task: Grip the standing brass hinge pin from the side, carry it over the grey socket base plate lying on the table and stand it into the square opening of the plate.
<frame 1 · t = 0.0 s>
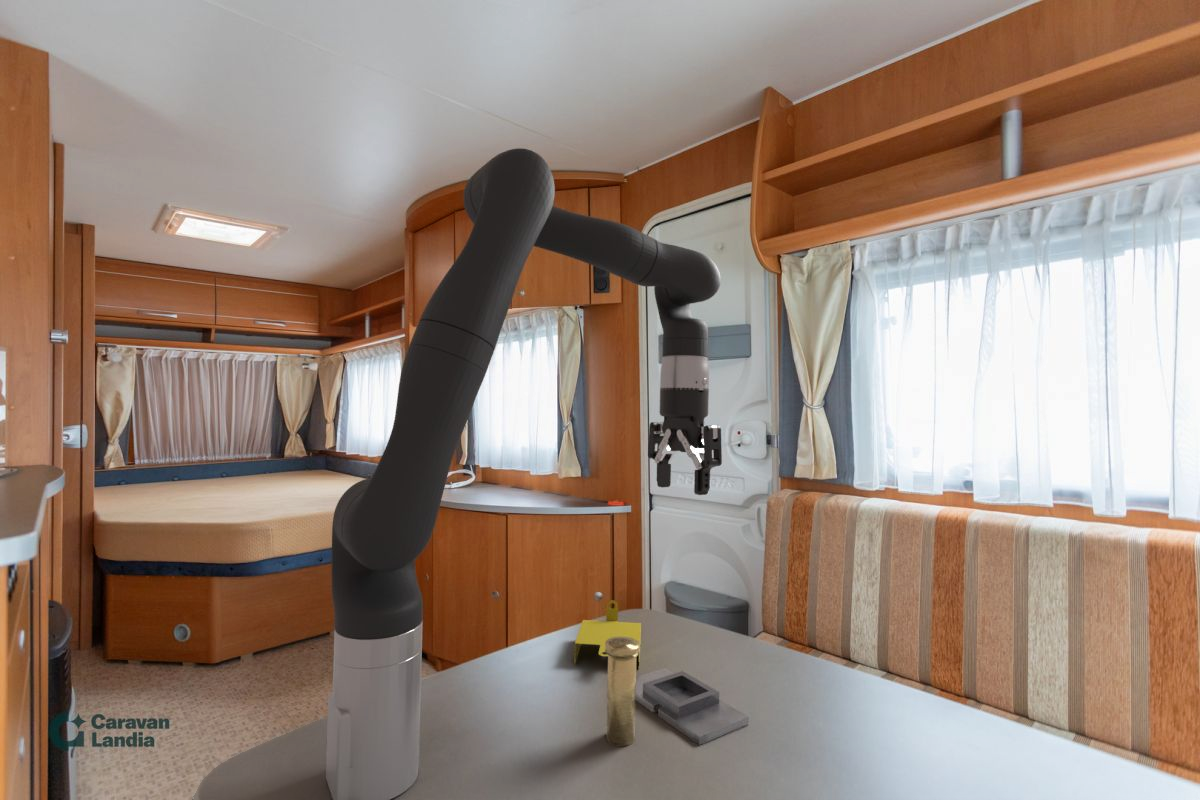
hand: (681, 490, 91), 29 cm above the table, tool pointing down, fingers open, 8 cm apart
bracket: (608, 662, 97), on the table
hinge pin: (620, 738, 74), on the table
grey socket base plate: (680, 705, 82), on the table
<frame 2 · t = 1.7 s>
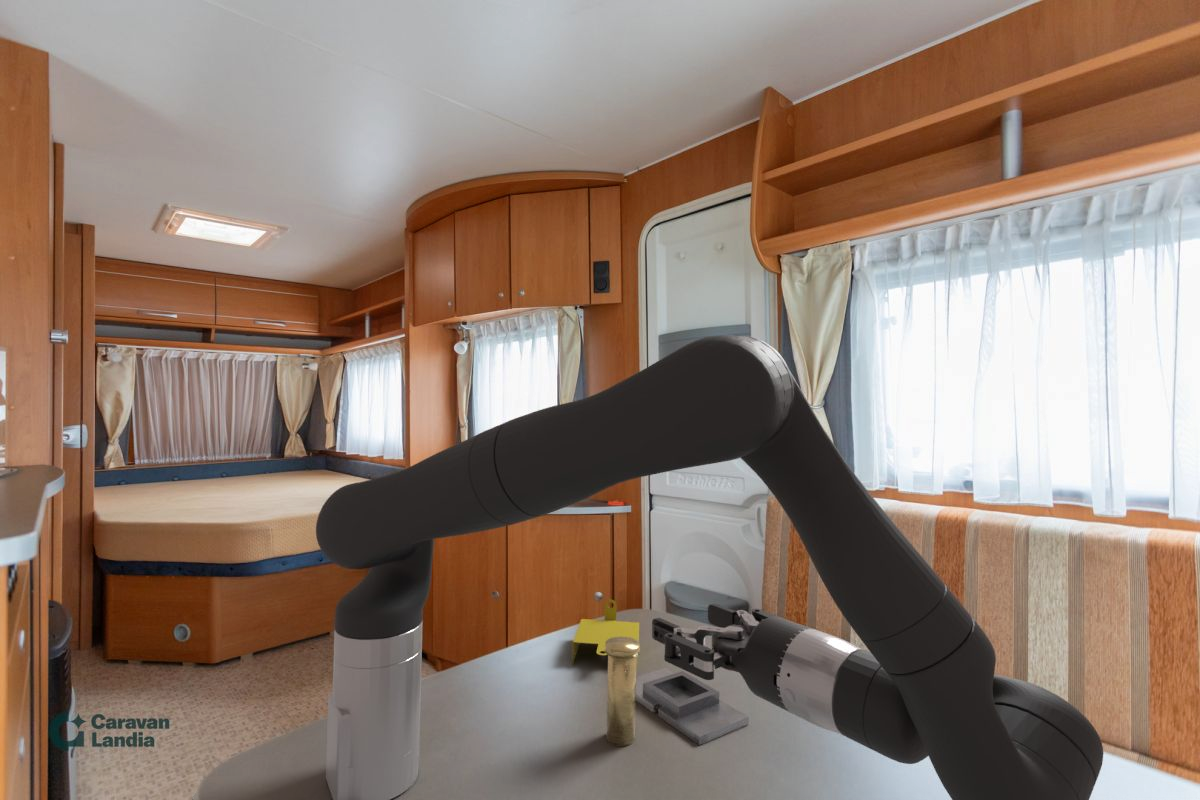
hand: (683, 619, 66), 18 cm above the table, tool horizontal, fingers open, 8 cm apart
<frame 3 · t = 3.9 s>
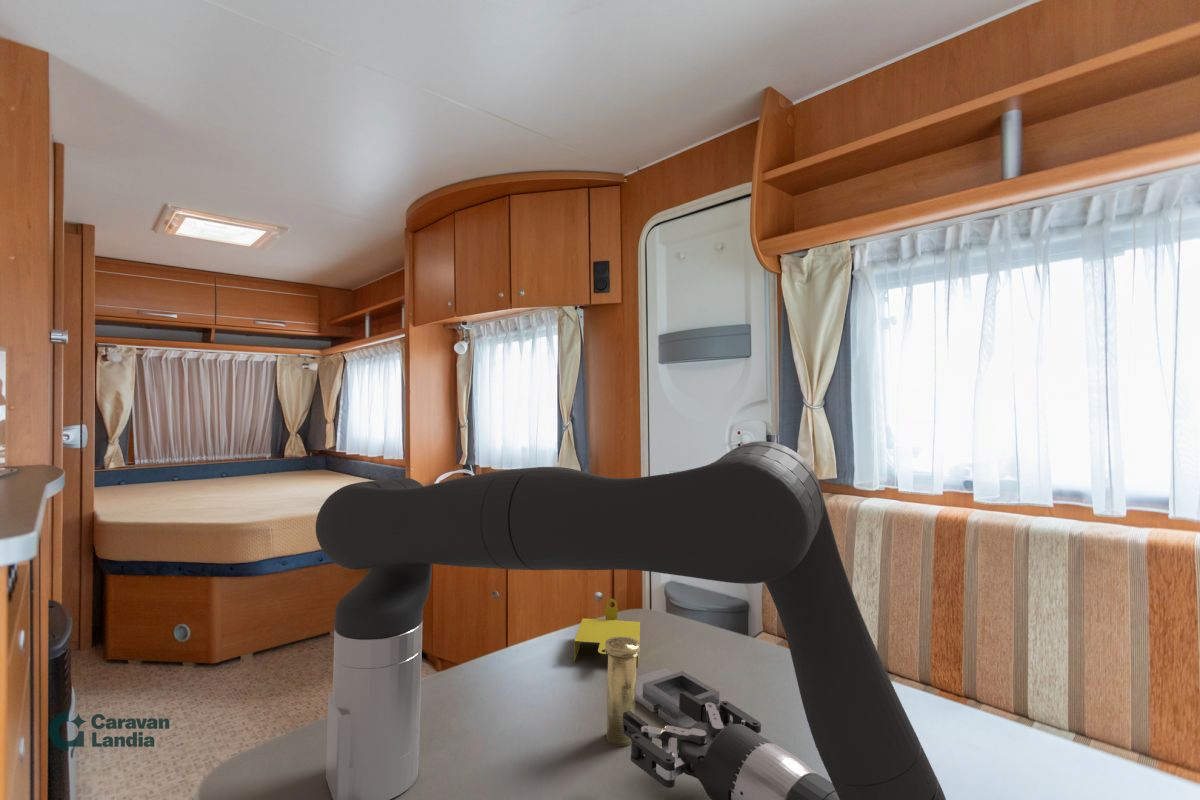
hand: (654, 709, 69), 7 cm above the table, tool horizontal, fingers open, 8 cm apart
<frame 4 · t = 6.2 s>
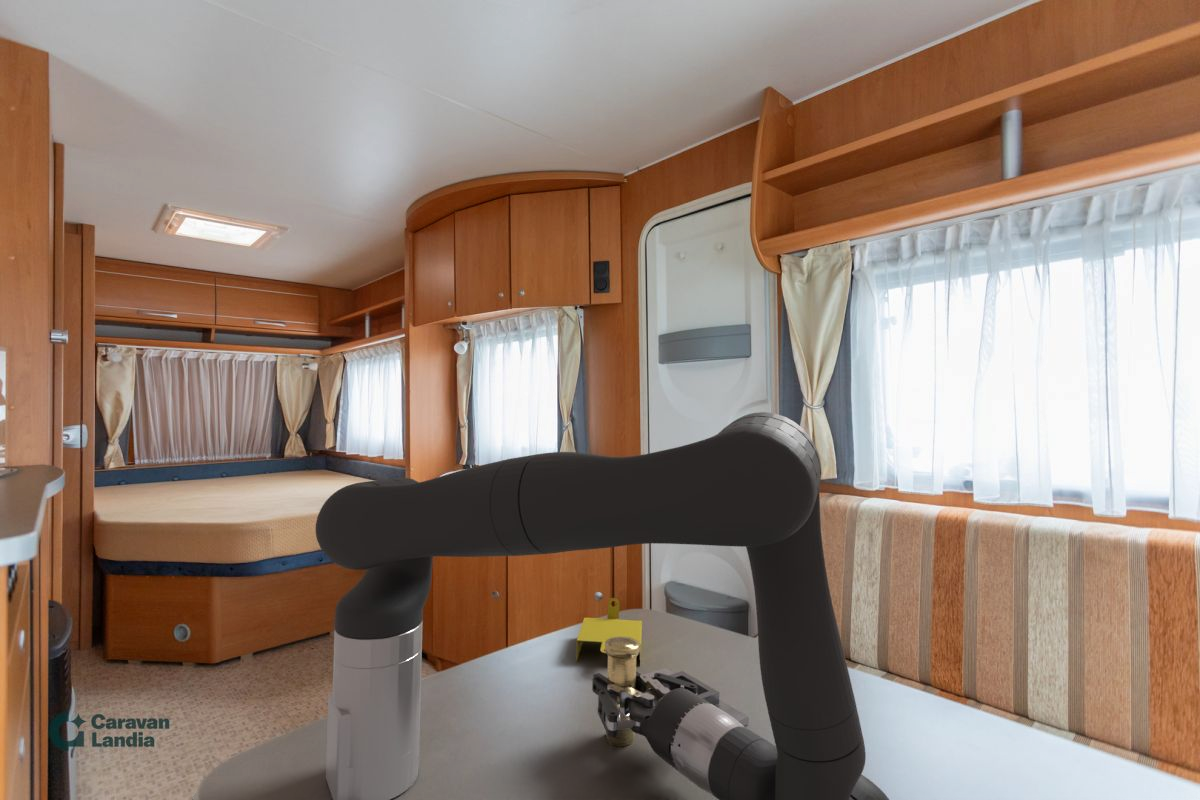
hand: (608, 677, 76), 7 cm above the table, tool horizontal, fingers closed on hinge pin, 3 cm apart
hinge pin: (620, 738, 74), on the table, touching gripper
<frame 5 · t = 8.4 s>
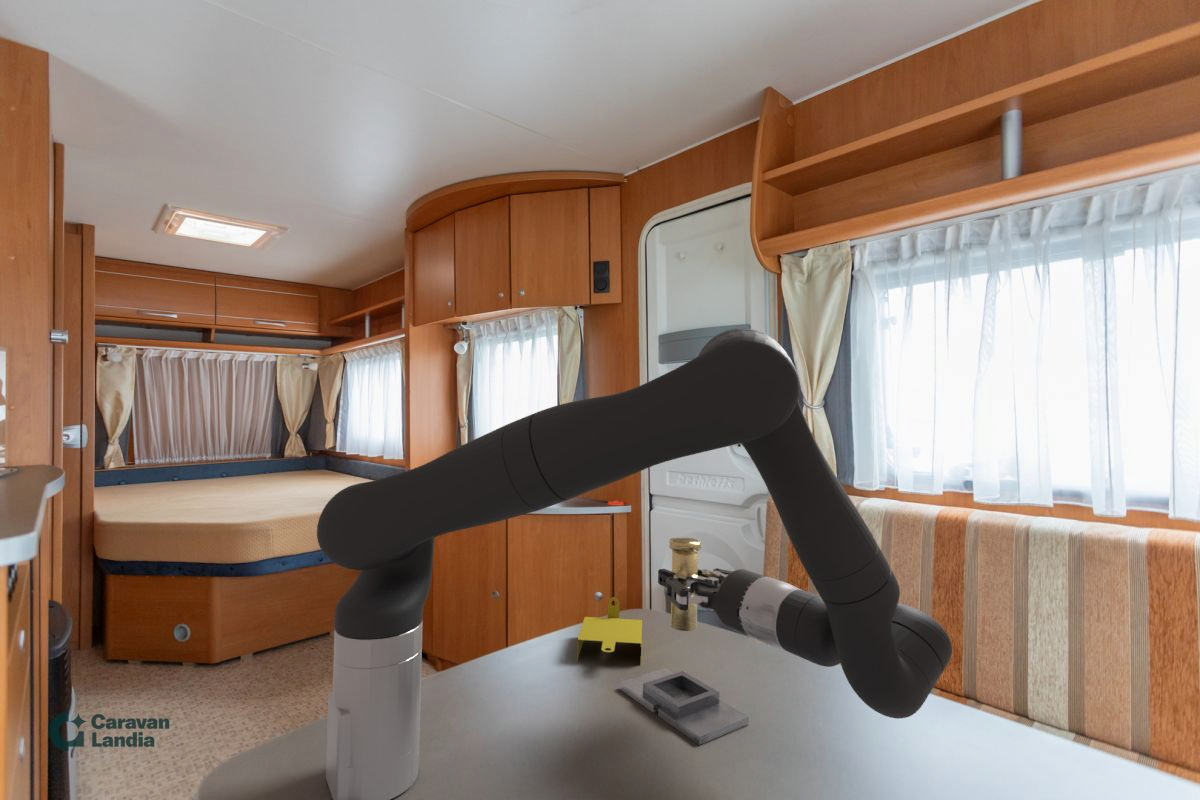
hand: (671, 574, 85), 18 cm above the table, tool horizontal, fingers closed on hinge pin, 3 cm apart
hinge pin: (683, 626, 82), point 11 cm above the table, touching gripper
when the fingers open (8 cm above the table, at t = 10.5 s): hinge pin stays where it is, resting on grey socket base plate.
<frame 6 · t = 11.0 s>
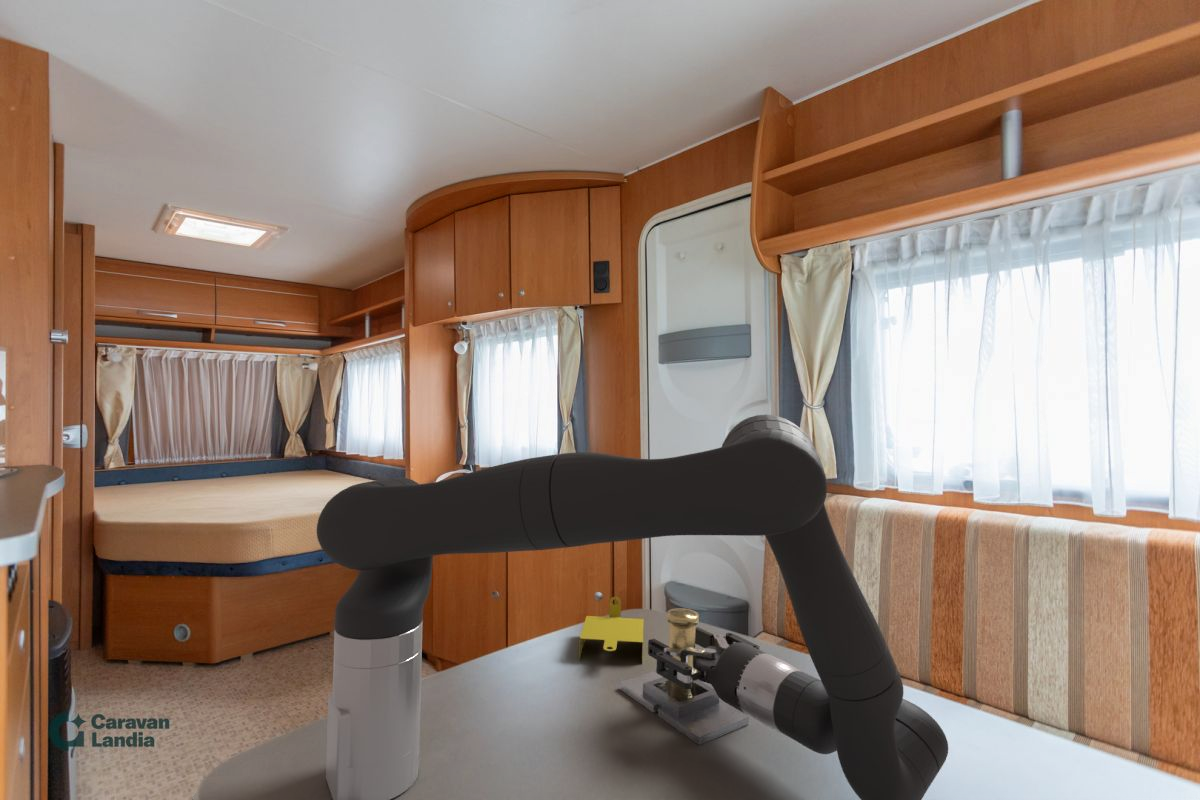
hand: (672, 639, 84), 9 cm above the table, tool horizontal, fingers open, 8 cm apart
hinge pin: (680, 698, 82), point 1 cm above the table, touching grey socket base plate
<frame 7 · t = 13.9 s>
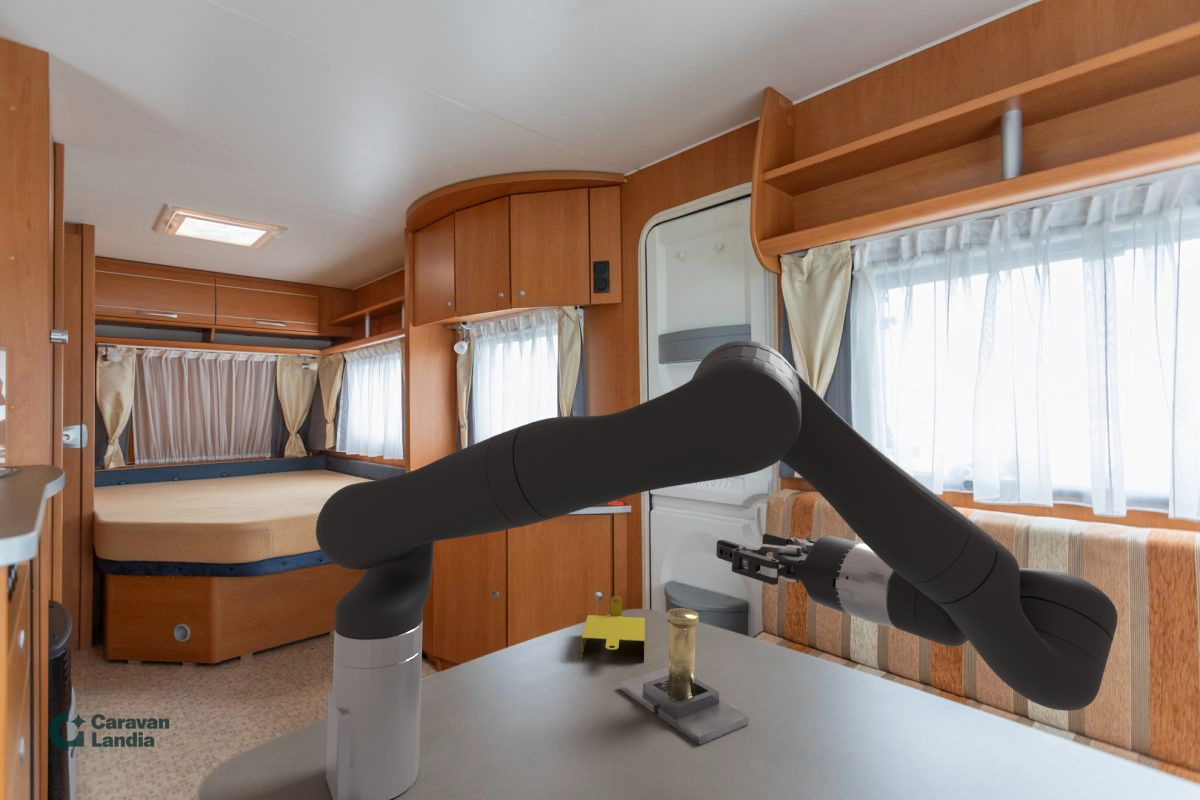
hand: (741, 544, 74), 25 cm above the table, tool horizontal, fingers open, 8 cm apart
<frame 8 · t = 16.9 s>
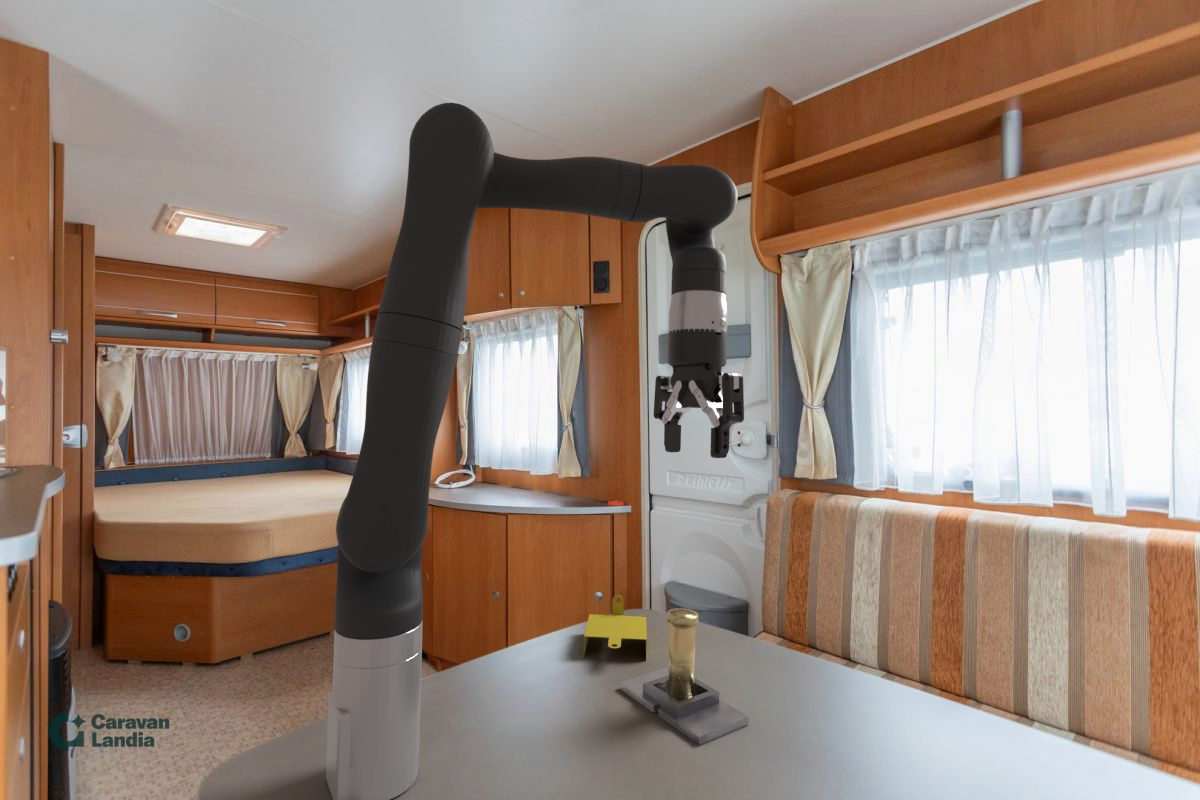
hand: (694, 454, 76), 36 cm above the table, tool pointing down, fingers open, 8 cm apart
at the end: hinge pin 0.1 cm off-centre on the grey socket base plate, point 1.0 cm above the grey socket base plate's base; hinge pin tilted 0°; the gripper is holding nothing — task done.
